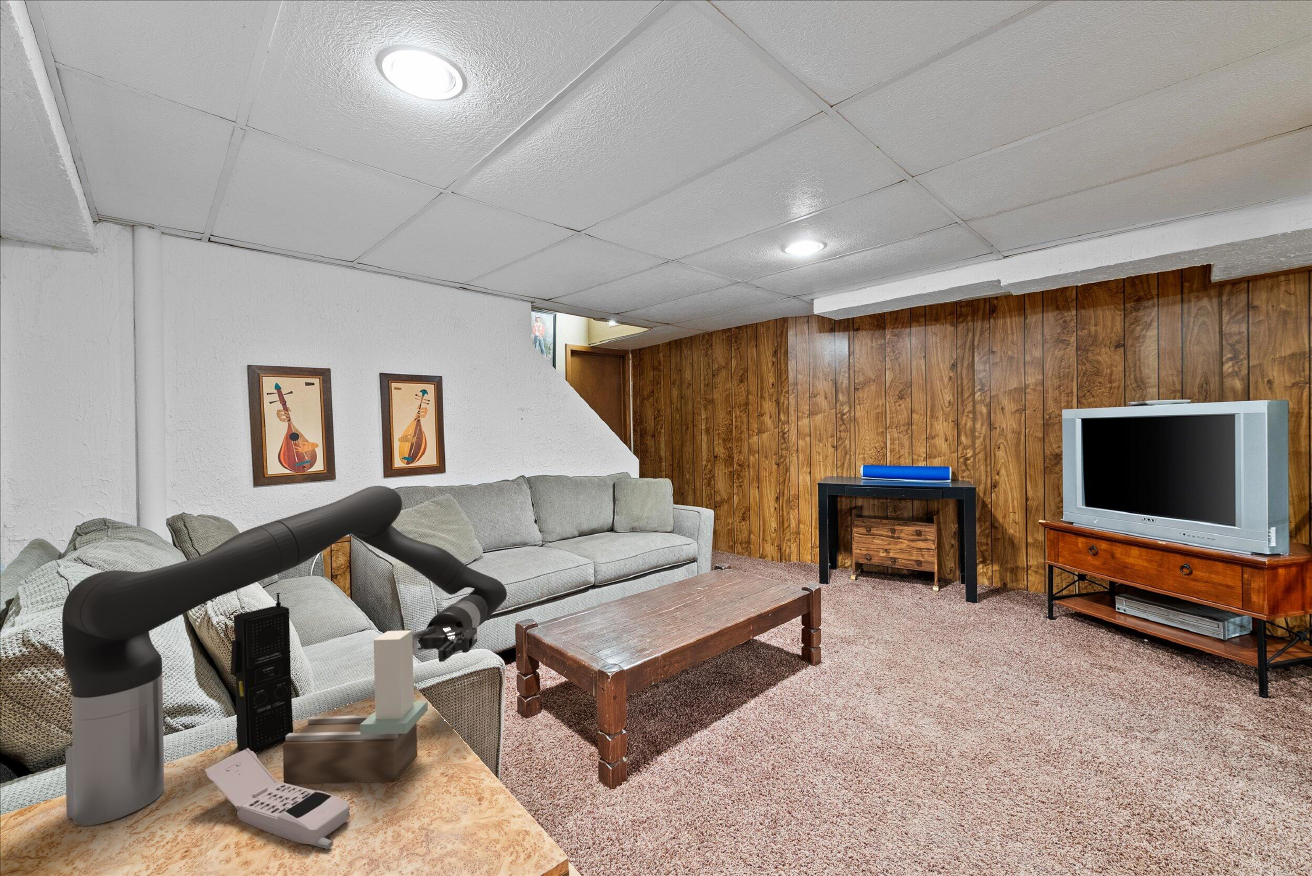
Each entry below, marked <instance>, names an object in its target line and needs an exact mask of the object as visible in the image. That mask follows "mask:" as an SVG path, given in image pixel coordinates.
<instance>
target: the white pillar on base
mask: <svg viewBox="0 0 1312 876" xmlns="http://www.w3.org/2000/svg"><path fill="white" fill-rule="evenodd" d="M407 630H408V629H407ZM412 634H413V630H412V629H410V630H408V631H405V630H387V631H386V632H384V633H382V634H381V635H379V636H377V637H376V638H374V639H373V661H374V662H373V664H374V666H373V669H374V701H375V702H374V704H375V705H374V709H375V711H374V712H372V713H371V714H369V715H370V716H369V717H368V718H367V719H366V720H365V721H363V722H362V723H361V724H360V734H405V733H407V732H408V731H409V730H410V729H411V728H412V727H413V726H414V725H415V724H416V723H418V722H419V720H420V719H422V718H423V716H425V714H426V713H427V712H428V711H429V706H428V705H429V704H428V700H423V701H421V700H419V701H418V700H417V701H415V694H414V693H415V692H414V691H415V688H414V654H413V644H412Z"/></svg>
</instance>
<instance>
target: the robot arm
mask: <svg viewBox="0 0 1312 876" xmlns="http://www.w3.org/2000/svg"><path fill="white" fill-rule="evenodd" d="M402 507H403V500H402V497H401V495H400V494H399V493H398V491H397V490H395V489H394V488H391V487H388V486H386V485H385V486H384V485H371V486H368V487H365V488H363V489H361V490H359V491H356V492H354V493H352V494H350V495H348V496H345V497H343V498H341V499H339V500H336V501H334V502H331V503H328V504H326V505H323V506H319V507H315V508H312V509H309V510H306V511H303V512H300V513H297V514H293V515H290V516H286V517H283V518H280V519H277V520H273V521H270V522H267V523H264V524H261V525H257V526H255V527H251V528H250V529H247V530H243V531H242V532H241V533H237V534H235V535H234V536H232V537H231V538H229V539H227V540H225V541H224V542H222V543H221V544H219V545H218V546H216V547H214V548H213V549H211V550H210V551H207V552H206V553H204V554H201V555H199V556H196V557H193V558H190V559H187V560H184V561H180V562H177V563H174V564H171V565H166V566H162V567H158V568H155V569H150V570H145V571H138V572H137V571H132V570H131V571H129V570H121V569H120V570H118V569H117V570H115V569H114V570H106V571H101V572H97V573H94V574H92V575H91V574H90V575H89V576H87V577H86V578H84V579H83V580H81V581H79V582H78V583H77V584H76V585H75V586H73V588H72V589H71V590H70V591H69V593H68V595H66V598H65V600H64V604H63V607H62V613H61V614H62V615H61V616H62V617H61V624H62V625H61V628H62V629H61V630H62V631H61V633H62V648H63V661H64V669H65V672H66V674H67V676H68V679H69V681H70V685H71V686H70V687H71V688H70V689H71V690H70V691H71V721H72V722H71V730H72V731H71V733H72V734H71V737H72V738H71V739H72V742H71V743H72V745H70V746H69V747H68V748H67V749H66V750H65V794H66V796H65V800H66V801H65V803H66V805H65V807H66V808H65V809H66V810H65V811H66V815H65V816H66V819H72V820H73V823H74V824H76V825H79V826H93V825H99V824H104V823H107V822H111V821H114V820H118V819H120V818H123V817H125V816H128V815H130V814H132V813H134V812H136V811H137V812H138V811H139V810H140V809H143V808H144V807H146V806H147V805H150V804H151V803H152V802H154V801H155V800H157V799H158V798H159V797H160V796H161V795H162V794H163V792H164V790H165V766H164V765H165V763H164V762H165V755H164V753H165V750H164V749H165V748H164V746H165V745H164V697H163V696H164V693H163V692H164V691H163V689H164V688H163V659H162V656H161V654H160V653H159V651H158V650H157V649H156V647H155V646H154V644H153V642H152V640H151V637H150V631H153V630H155V629H157V628H158V627H161V626H163V625H164V624H166V623H168V622H170V621H172V620H174V619H176V618H178V617H179V616H182V615H184V614H185V613H188V612H190V611H191V610H193V609H196V608H197V607H199V606H201V605H204V604H205V603H207V602H210V601H211V600H213V599H216V598H218V597H221V596H224V595H226V594H230V593H232V592H235V591H238V590H241V589H243V588H245V587H249V586H250V585H253V584H256V583H258V582H261V581H263V580H265V579H269V578H271V577H274V576H277V575H279V574H281V573H283V572H286V571H289V570H291V569H293V568H296V567H297V566H300V565H302V564H303V563H305V562H307V561H309V560H310V559H313V557H316V556H317V555H318V554H320V553H322V552H323V551H325V550H327V549H328V548H330V547H331V546H332V545H334V544H335V543H337V542H338V541H340V540H341V539H343V538H345V537H347V536H348V535H352V536H354V537H355V538H356V539H358V540H360V541H362V542H363V543H365V544H367V545H370V546H371V547H373V548H375V549H377V550H379V551H380V552H382V553H384V554H386V555H388V556H390V557H391V558H394V559H396V560H397V561H399V562H401V563H403V564H405V565H407V566H409V568H412V569H413V570H415V571H416V572H418V573H419V574H421V575H422V577H423V576H424V577H425V578H426V579H428V580H429V582H431V583H432V584H434V585H435V586H436V587H438V588H439V589H441V590H442V591H443V592H445V593H446V594H448V595H450V596H452V595H456V594H457V593H459V592H460V591H462V590H464V589H466V588H470V589H472V591H470V593H468V595H465V596H463V597H462V598H460V599H458V600H457V601H456V602H454V603H451V604H450V605H448V606H446V608H444V609H442V611H440V612H438V613H436V615H434V616H433V617H432V618H431V619H430V620H429V623H428V624H427V626H426V628H425V629H423V630H419V631H415V632H414V633H413V632H412V644H413V655H417V654H419V653H423V652H426V651H433V650H438V661H439V662H440V663H442V662H443V663H444V662H445V661H447V659H450V658H451V657H452V656H453V655H456V654H458V653H459V651H461V653H463V654H464V653H465V654H467V653H469V652H470V651H471V650H472V648H474V646H475V645H476V644H477V643H478V627H480V626H481V625H482V624H484V623H485V622H486V621H487V620H488V619H489V618H490V617H491V616H492V615H493V614H494V613H495V612H496V611H497V609H499V608H500V606H502V604H503V603H505V601H506V599H507V596H508V591H507V589H506V586H505V585H504V584H503V583H502V582H501V581H500V580H498V579H497V578H494V577H492V576H489V575H486V574H484V573H482V572H479V571H477V570H475V569H473V568H471V567H469V566H467V565H466V564H464V563H463V562H462V561H461V560H459V559H458V557H456V556H455V555H453V554H452V553H450V552H449V551H448V550H446V549H444V548H442V547H439V546H437V545H435V544H431V543H427V542H424V541H420V540H417V539H414V538H411V537H410V536H408V535H405V534H404V533H402V532H401V531H399V530H398V529H397V528H396V527H394V525H393V523H394V522H395V521H396V520H397V519H398V517H399V516H400V514H401V511H402V510H403V509H402ZM408 630H411V629H406V630H404V631H408ZM418 645H419V646H420V647H418Z"/></svg>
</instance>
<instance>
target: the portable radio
mask: <svg viewBox="0 0 1312 876" xmlns="http://www.w3.org/2000/svg"><path fill="white" fill-rule="evenodd" d="M280 594H281V592H277V593H275V595H276V602H275V605H273V606H269V607H268V606H267V607H264V608H258V609H255V610H251V611H247V612H243V613H239V614H235V615H233V632H234V634H233V635H234V639H232V641H231V655H230V659H231V660H230V671H229V672H230V675H231V676H234V677H235V705H236V706H235V708H236V709H235V710H236V712H235V713H236V716H235V717H236V728H235V733H236V749H237V750H238V752H241V751H243V750H245V749H247V748H249V750H250V751H253V752H254V753H255V754H256V755H257V754H258V753H260V752H263V751H265V750H267V749H270V748H272V747H274V746H277V745H279V744H281V743H282V744H283V743H284V742H286V735H288V734H289V733H294V721H293V720H294V719H293V718H294V717H293V700H292V699H293V698H292V697H293V693H292V673H291V672H292V671H291V635H290V634H291V629H290V628H291V627H290V608H289V607H286V606H284V605H282V603H281V601H280Z"/></svg>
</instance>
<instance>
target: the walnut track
mask: <svg viewBox="0 0 1312 876" xmlns="http://www.w3.org/2000/svg"><path fill="white" fill-rule="evenodd" d="M370 715H371V714H369V715H368V714H367V715H329V716H328V715H327V716H326V715H325V716H322V715H321V716H311V717H309V718H308V719H307V721H308V722H307V723H308V724H307V725H305V726H304V727H302V728H301V729H300V730H299V731H297V732H293V733H289V734H288V735H286V741H284V742H282V762H283V763H282V765H283V769H282V770H283V783H286V784H290V785H294V784H295V785H296V784H301V785H302V784H335V783H336V784H342V783H343V784H345V783H346V784H347V783H349V784H350V783H354V784H355V783H392V782H393V783H394V782H396V781H397V780H398V779H399V777H400V776H401V775H402V774H403V772H405V770H406V769H407V768H408V767H409V765H411V763H412V762H413V761H414V760H415V758H416V757H417V756H418V735H417V734H418V728H417V727H418V726H417V723H418V722H417V723H416V724H415V725H414V726H413V727H412V728H411V729H410V730H409V731H408V732H407V733H405V734H360V724H361V723H362V722H363V721H365V720H366V719H367V718H368V717H369V716H370Z"/></svg>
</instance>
